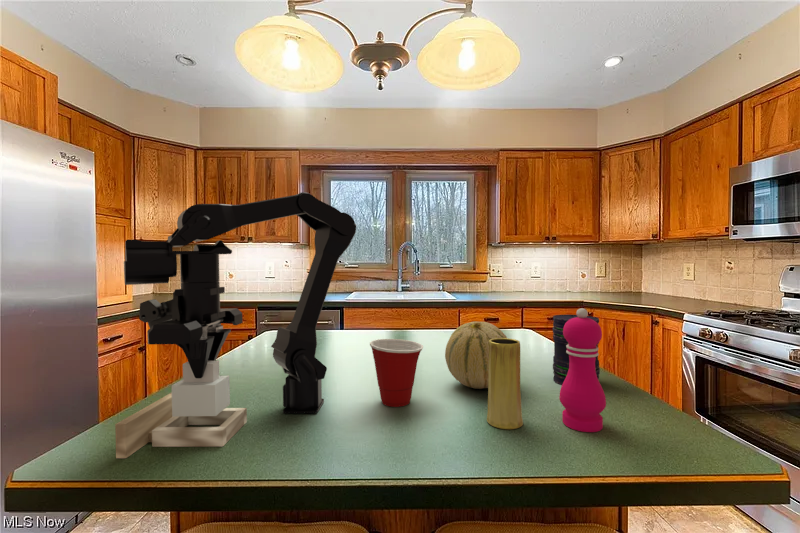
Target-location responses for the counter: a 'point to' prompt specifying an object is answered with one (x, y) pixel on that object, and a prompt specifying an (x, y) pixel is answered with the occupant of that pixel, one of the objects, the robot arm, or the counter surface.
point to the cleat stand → (175, 428)
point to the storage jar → (564, 349)
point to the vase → (504, 384)
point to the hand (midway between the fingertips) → (202, 375)
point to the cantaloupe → (471, 353)
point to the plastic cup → (395, 369)
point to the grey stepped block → (201, 392)
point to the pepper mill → (582, 375)
